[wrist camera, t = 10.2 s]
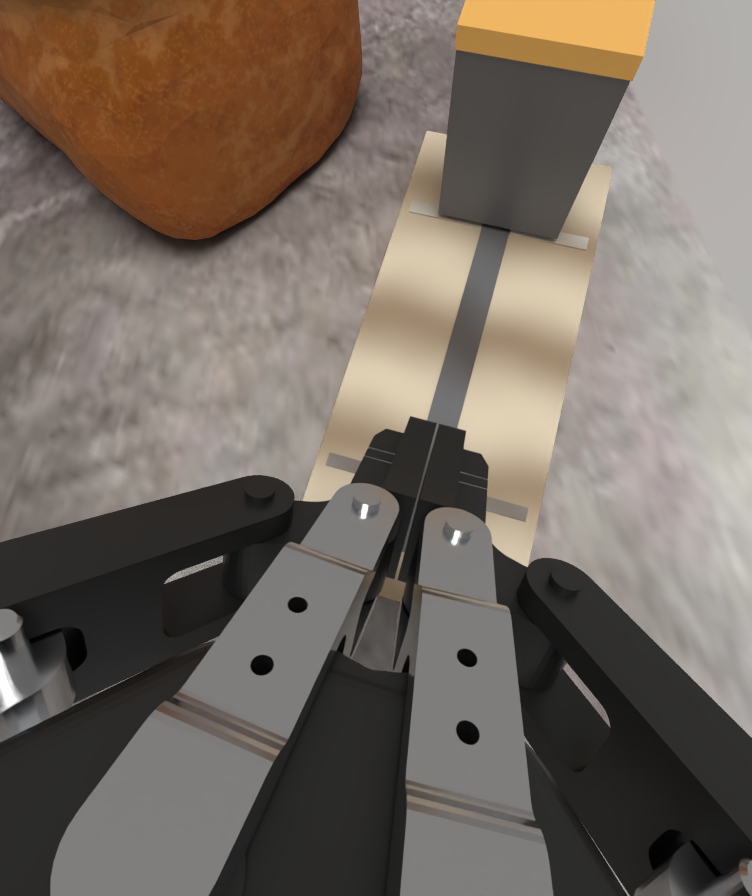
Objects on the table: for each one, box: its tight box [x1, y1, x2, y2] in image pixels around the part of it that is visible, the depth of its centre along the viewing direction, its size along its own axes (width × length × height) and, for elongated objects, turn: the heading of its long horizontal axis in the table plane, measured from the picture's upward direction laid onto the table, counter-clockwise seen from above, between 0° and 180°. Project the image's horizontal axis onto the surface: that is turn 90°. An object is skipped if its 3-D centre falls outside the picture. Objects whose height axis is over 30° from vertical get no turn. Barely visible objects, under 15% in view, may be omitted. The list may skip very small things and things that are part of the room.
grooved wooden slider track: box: [302, 131, 613, 603], centre depth 25 cm, size 24×10×3 cm, turn 163°
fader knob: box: [438, 0, 655, 239], centre depth 21 cm, size 4×6×9 cm, turn 74°
